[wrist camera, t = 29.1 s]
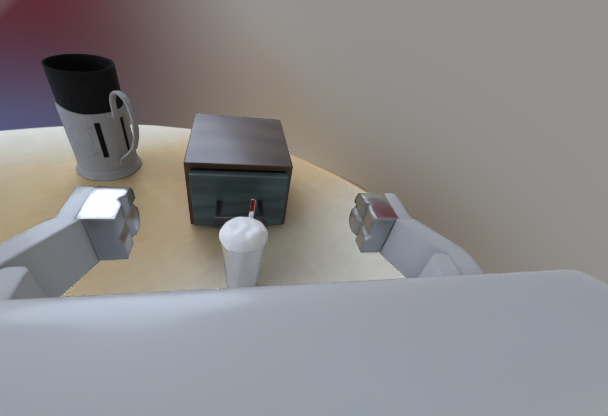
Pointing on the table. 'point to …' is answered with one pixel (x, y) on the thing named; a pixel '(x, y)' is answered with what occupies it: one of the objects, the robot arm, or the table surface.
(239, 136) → the cabinet
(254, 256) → the milkshake
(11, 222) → the table surface
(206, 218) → the drawer
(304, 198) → the table surface
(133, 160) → the glass holder
